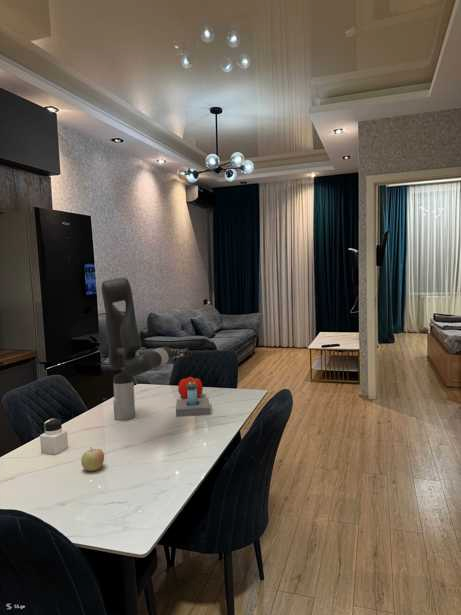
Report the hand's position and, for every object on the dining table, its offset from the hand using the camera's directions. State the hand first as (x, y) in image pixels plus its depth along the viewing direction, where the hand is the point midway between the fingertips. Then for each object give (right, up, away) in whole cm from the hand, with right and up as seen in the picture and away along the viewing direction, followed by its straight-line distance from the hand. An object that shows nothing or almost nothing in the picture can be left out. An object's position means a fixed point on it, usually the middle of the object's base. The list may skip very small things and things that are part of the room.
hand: (179, 350), depth 193 cm
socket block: (+5, -31, +13) cm, 34 cm away
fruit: (-24, -37, -47) cm, 64 cm away
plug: (+5, -31, +13) cm, 34 cm away
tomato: (+2, -29, +35) cm, 46 cm away
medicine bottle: (-45, -36, -30) cm, 65 cm away
